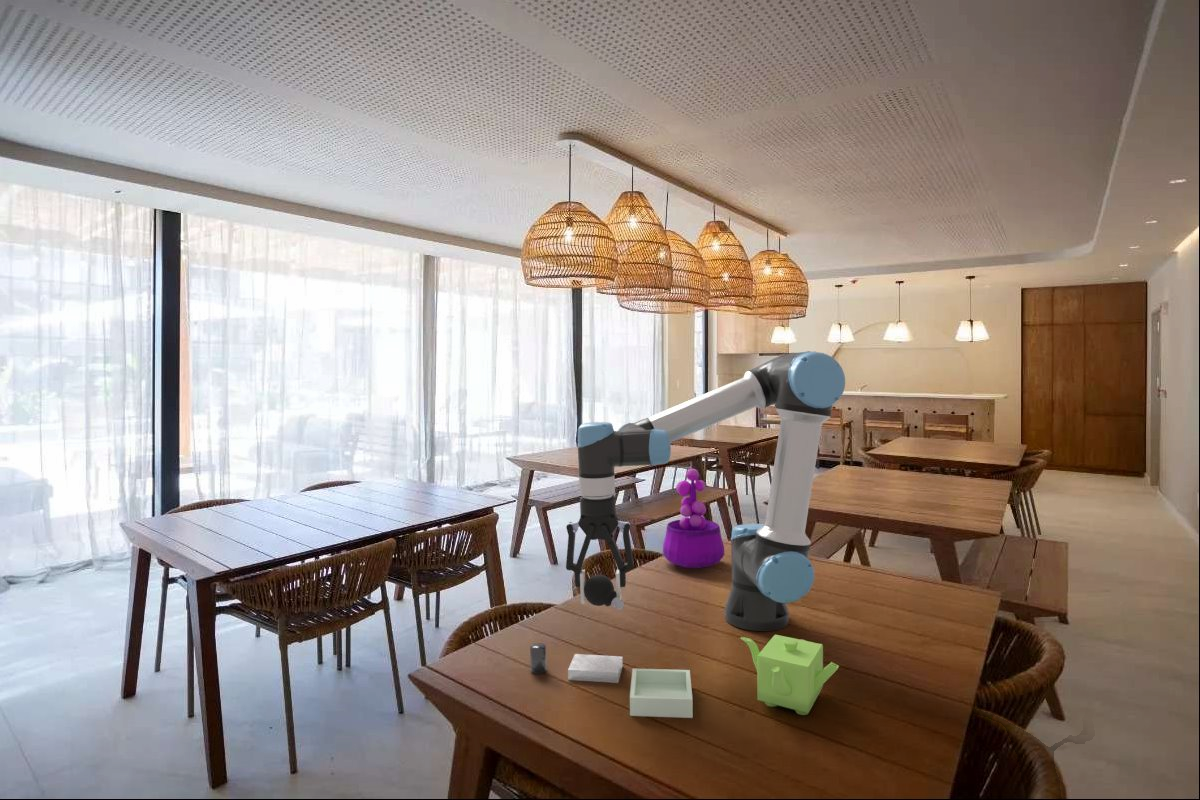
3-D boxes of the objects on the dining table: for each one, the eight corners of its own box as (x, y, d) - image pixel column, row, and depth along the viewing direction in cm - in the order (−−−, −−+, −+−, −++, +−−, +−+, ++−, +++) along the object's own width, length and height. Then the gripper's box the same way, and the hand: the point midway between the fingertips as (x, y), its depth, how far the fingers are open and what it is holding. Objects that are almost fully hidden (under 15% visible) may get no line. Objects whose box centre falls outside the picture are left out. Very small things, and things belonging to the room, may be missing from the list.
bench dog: (547, 666, 133) (547, 643, 133) (544, 674, 130) (544, 649, 130) (532, 666, 134) (531, 642, 133) (529, 673, 131) (528, 649, 130)
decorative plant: (660, 573, 192) (659, 473, 190) (664, 555, 210) (663, 463, 208) (725, 575, 189) (724, 474, 187) (723, 557, 207) (723, 464, 205)
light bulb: (621, 595, 130) (585, 570, 136) (608, 623, 131) (573, 596, 137) (637, 592, 135) (601, 567, 141) (625, 619, 136) (590, 593, 142)
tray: (689, 686, 124) (689, 670, 124) (692, 717, 113) (692, 699, 113) (632, 685, 125) (632, 668, 125) (630, 715, 114) (629, 697, 114)
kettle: (773, 728, 110) (773, 664, 109) (735, 688, 123) (734, 631, 123) (850, 714, 113) (850, 652, 113) (804, 677, 127) (804, 621, 127)
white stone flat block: (622, 668, 133) (622, 656, 133) (618, 685, 126) (618, 672, 126) (575, 665, 135) (574, 653, 135) (568, 681, 128) (568, 669, 128)
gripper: (644, 491, 140) (648, 595, 141) (554, 492, 142) (558, 595, 143) (643, 498, 132) (647, 608, 134) (548, 499, 134) (552, 608, 135)
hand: (601, 601), depth 138 cm, fingers closed on light bulb, 7 cm apart
